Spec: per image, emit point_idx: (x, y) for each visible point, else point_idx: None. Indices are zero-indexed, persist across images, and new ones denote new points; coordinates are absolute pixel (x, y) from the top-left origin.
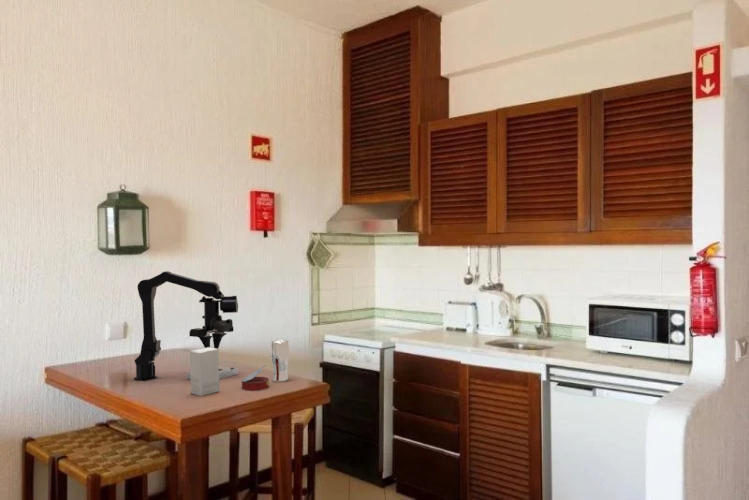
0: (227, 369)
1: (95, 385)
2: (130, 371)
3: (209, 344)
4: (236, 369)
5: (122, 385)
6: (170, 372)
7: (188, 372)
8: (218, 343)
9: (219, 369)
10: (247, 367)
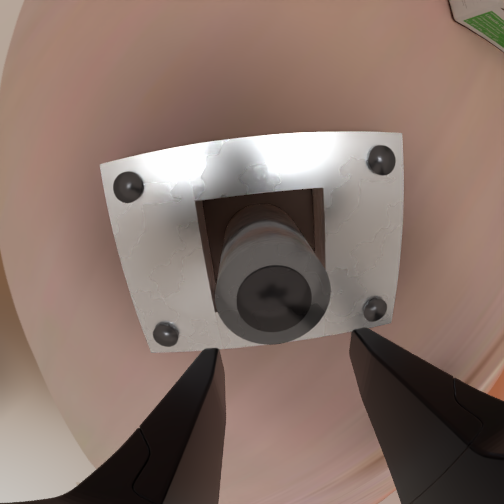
0: (171, 189)
1: (489, 390)
2: (345, 476)
3: (429, 390)
4: (113, 161)
5: (492, 356)
6: (306, 435)
7: (385, 319)
8: (182, 422)
9: (203, 250)
10: (16, 277)
